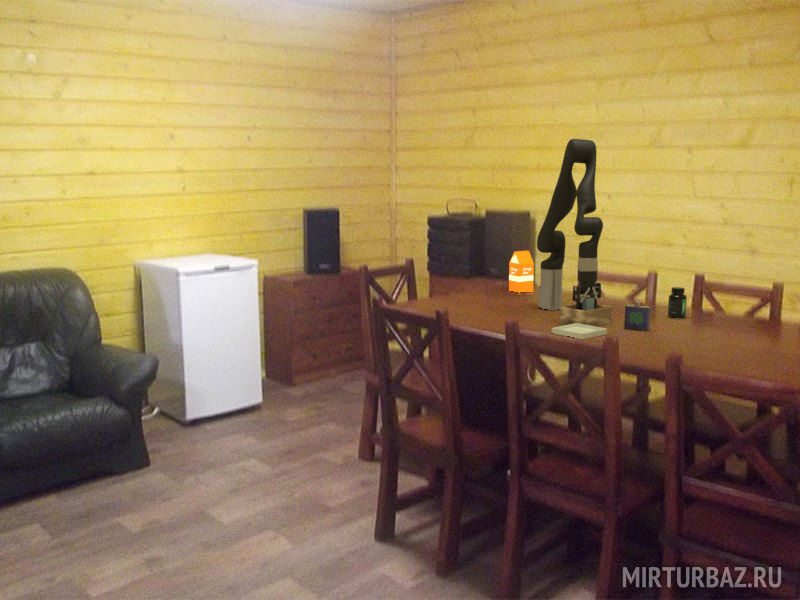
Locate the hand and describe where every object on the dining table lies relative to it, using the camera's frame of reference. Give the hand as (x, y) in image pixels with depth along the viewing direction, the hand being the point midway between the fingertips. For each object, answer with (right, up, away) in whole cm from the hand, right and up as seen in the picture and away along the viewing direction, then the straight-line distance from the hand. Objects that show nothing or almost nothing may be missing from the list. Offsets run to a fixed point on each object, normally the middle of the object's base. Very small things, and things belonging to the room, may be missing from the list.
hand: (586, 310), depth 316 cm
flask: (+16, -7, -11) cm, 21 cm away
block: (0, -3, +1) cm, 3 cm away
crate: (0, -5, +1) cm, 5 cm away
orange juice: (-14, +8, +76) cm, 77 cm away
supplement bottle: (+39, -3, +11) cm, 40 cm away
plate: (-7, -8, -18) cm, 21 cm away
